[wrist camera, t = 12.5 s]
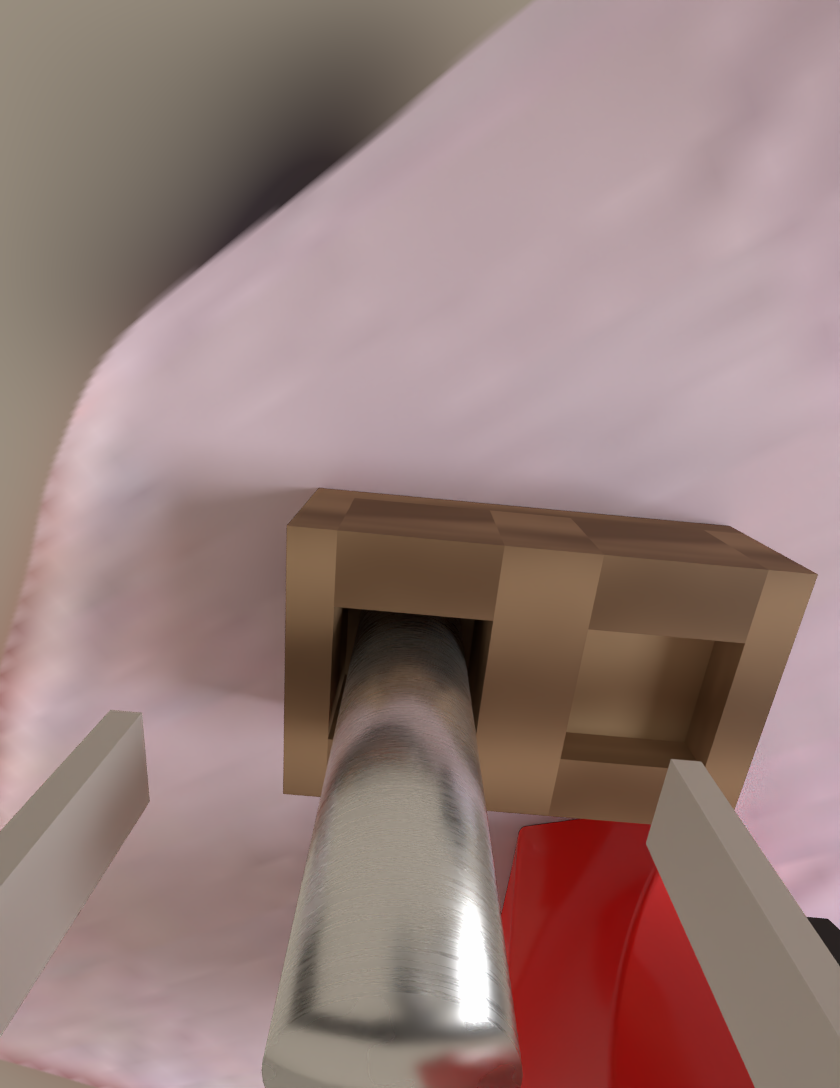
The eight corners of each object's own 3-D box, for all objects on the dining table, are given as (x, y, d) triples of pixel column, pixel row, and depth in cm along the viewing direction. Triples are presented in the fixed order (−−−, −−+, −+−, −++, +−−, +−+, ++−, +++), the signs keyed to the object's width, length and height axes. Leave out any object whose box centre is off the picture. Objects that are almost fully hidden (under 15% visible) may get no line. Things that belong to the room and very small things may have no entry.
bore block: (318, 487, 21) (286, 525, 16) (730, 526, 21) (818, 574, 16) (311, 708, 24) (283, 793, 19) (668, 738, 24) (726, 830, 20)
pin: (362, 575, 21) (260, 987, 8) (466, 585, 21) (543, 1005, 8) (356, 665, 22) (262, 1142, 9) (453, 673, 22) (501, 1154, 9)
